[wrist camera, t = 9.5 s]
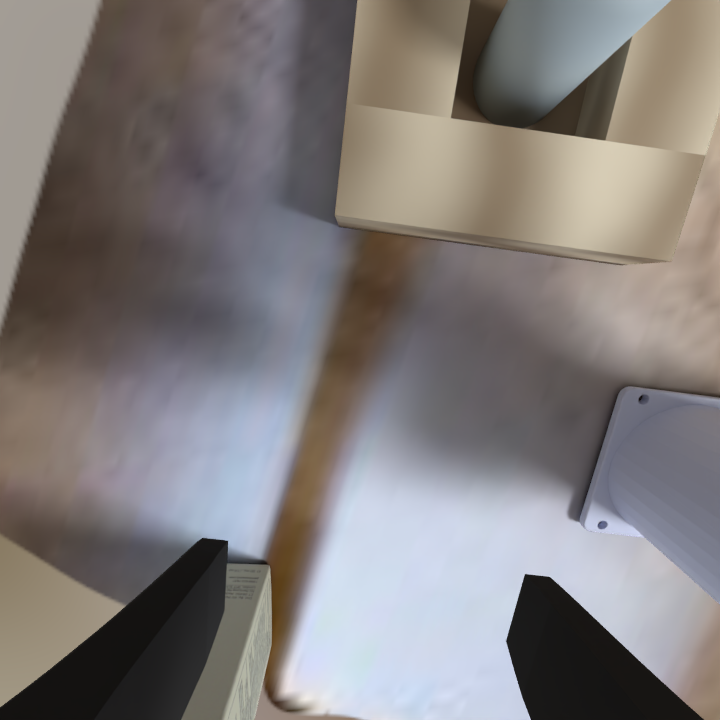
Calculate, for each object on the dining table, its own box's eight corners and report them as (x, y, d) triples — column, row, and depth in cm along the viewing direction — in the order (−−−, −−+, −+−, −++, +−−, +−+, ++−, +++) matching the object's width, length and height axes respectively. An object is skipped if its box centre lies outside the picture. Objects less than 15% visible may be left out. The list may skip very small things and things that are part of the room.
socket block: (723, -92, 13) (814, -186, 10) (620, 265, 16) (671, 261, 13) (380, -148, 12) (384, -260, 10) (339, 226, 15) (334, 215, 13)
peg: (576, 38, 13) (746, -157, 7) (546, 138, 14) (677, 34, 8) (488, 15, 13) (590, -203, 7) (462, 117, 14) (535, -4, 8)
